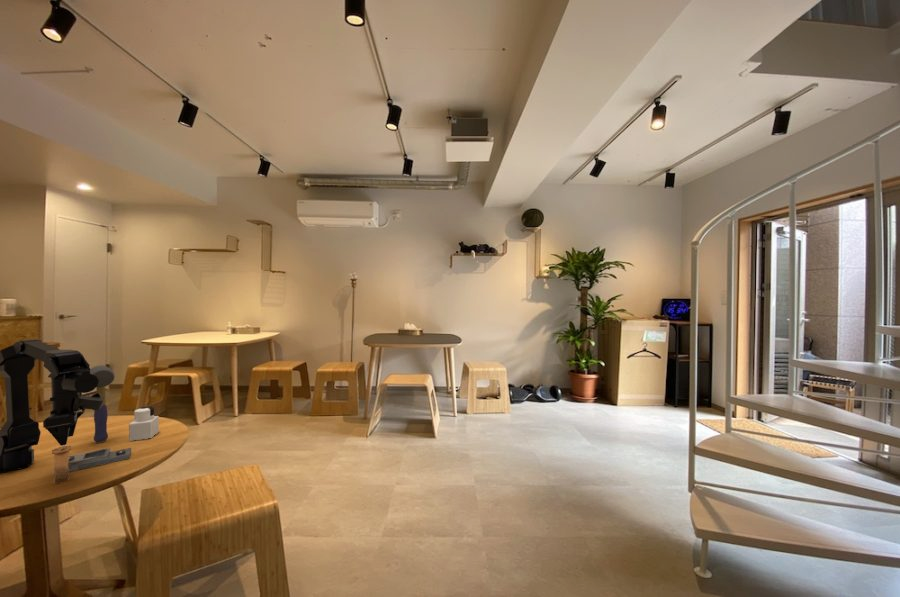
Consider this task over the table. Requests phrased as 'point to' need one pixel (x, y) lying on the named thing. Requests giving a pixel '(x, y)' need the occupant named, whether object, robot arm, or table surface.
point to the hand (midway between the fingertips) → (67, 440)
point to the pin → (61, 463)
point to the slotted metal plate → (97, 458)
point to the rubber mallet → (100, 416)
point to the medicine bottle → (143, 424)
